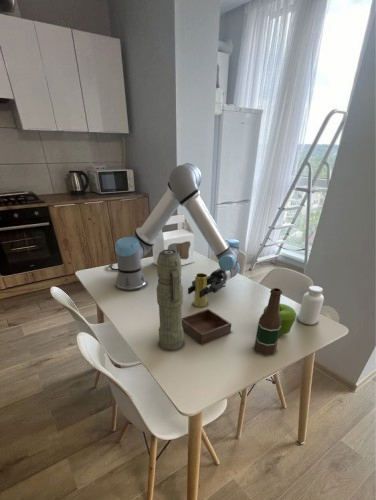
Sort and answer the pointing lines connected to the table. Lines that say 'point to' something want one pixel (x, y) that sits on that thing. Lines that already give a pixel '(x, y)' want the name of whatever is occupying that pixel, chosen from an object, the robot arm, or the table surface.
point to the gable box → (176, 240)
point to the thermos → (170, 299)
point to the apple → (286, 317)
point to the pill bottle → (311, 305)
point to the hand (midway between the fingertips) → (194, 292)
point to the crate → (205, 326)
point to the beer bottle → (269, 325)
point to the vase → (200, 289)
